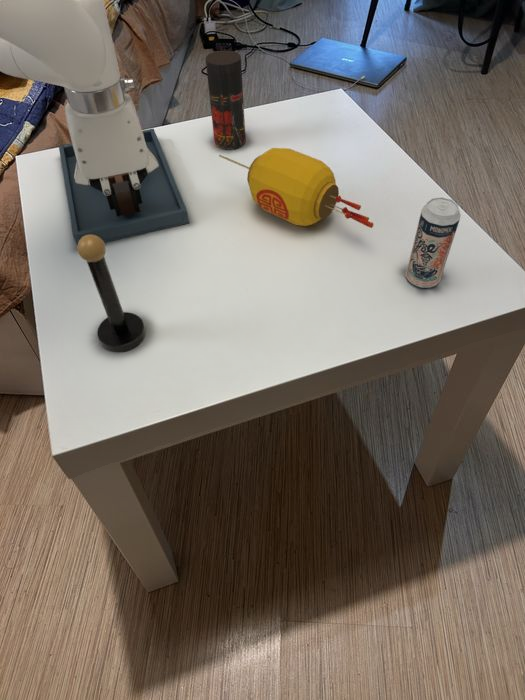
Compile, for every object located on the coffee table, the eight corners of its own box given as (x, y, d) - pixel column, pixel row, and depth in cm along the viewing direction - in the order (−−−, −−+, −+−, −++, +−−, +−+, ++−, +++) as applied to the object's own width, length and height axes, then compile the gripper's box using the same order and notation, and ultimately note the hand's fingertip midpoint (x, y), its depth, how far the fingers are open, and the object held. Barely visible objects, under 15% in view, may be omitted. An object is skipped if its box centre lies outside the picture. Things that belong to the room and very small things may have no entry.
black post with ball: (102, 357, 66) (61, 261, 54) (96, 324, 70) (57, 227, 58) (149, 345, 68) (119, 248, 55) (141, 313, 71) (111, 215, 59)
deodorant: (211, 137, 101) (201, 53, 89) (240, 131, 102) (235, 48, 90) (218, 152, 97) (210, 67, 85) (249, 146, 98) (245, 61, 86)
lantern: (395, 172, 72) (230, 111, 84) (356, 221, 69) (191, 150, 81) (392, 222, 80) (243, 160, 93) (357, 267, 78) (208, 197, 90)
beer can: (400, 283, 73) (417, 212, 64) (411, 263, 76) (429, 191, 67) (434, 294, 72) (457, 222, 63) (443, 273, 75) (467, 201, 65)
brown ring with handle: (80, 157, 95) (73, 136, 92) (141, 145, 97) (136, 124, 94) (93, 221, 82) (86, 200, 79) (163, 206, 84) (158, 184, 81)
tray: (77, 248, 80) (73, 235, 79) (62, 158, 97) (58, 146, 95) (189, 223, 84) (187, 210, 82) (155, 140, 100) (153, 128, 99)
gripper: (149, 72, 74) (171, 186, 88) (32, 92, 71) (74, 207, 85) (160, 95, 69) (181, 211, 83) (35, 117, 66) (79, 234, 81)
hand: (127, 208), depth 84 cm, fingers closed on brown ring with handle, 2 cm apart
